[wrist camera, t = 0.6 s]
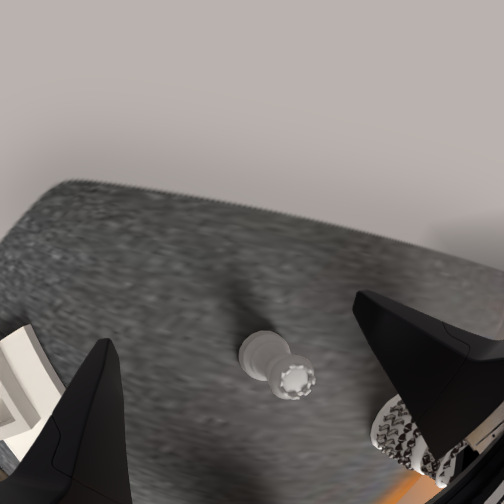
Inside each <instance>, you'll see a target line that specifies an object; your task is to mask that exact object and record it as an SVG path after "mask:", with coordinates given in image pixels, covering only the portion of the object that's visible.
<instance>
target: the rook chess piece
mask: <svg viewBox="0 0 504 504" xmlns="http://www.w3.org/2000/svg"><path fill="white" fill-rule="evenodd" d="M239 362H240V365H241V367H242V369H243V370H244V371H245V372H246V373H247V374H248V375H250V376H251V377H252V378H255V379H257V380H261V381H267V382H268V383H269V385H270V388H271V391H272V392H273V393H274V394H275V395H276V396H277V397H280V398H283V399H292V400H294V399H299V396H301V395H303V394H304V395H305V396H306V395H307V394H308V393H309V392H311V390H310V389H309V387H310V385H311V384H315V379H316V377H314V370H313V366H312V364H311V363H310V361H309V360H308V359H307V358H305V357H303V356H300V355H293V354H291V353H290V350H289V346H288V344H287V343H286V341H285V340H284V339H283V338H282V337H280V336H279V335H278V334H276V333H274V332H272V331H259V332H256V333H253V334H251V335H250V336H249V337H248V338H247V339H245V340H244V342H243V344H242V346H241V347H240V349H239Z"/></svg>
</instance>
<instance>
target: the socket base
mask: <svg viewBox="0 0 504 504" xmlns="http://www.w3.org/2000/svg"><path fill="white" fill-rule="evenodd" d="M65 390H66V389H65V387H64V385H63V384H62V382H61V381H60V379H59V377H58V376H57V374H56V372H55V370H54V369H53V367H52V365H51V363H50V362H49V360H48V358H47V356H46V354H45V352H44V351H43V349H42V347H41V345H40V343H39V341H38V339H37V337H36V335H35V333H34V330H33V328H32V326H31V324H29V325H26V326H23V327H21V328H20V329H18V330H16V331H15V332H13V333H12V334H10V335H8V336H7V337H5V338H4V339H2V340H1V341H0V440H4V441H5V443H6V444H7V445H8V447H9V448H10V449H11V451H12V452H13V453H14V455H15V456H16V457H17V458H18V460H19V461H20V462H21V460H22V459H23V457H24V456H25V454H26V453H27V452H28V450H29V449H30V447H31V446H32V444H33V443H34V441H35V440H36V438H37V437H38V435H39V434H40V432H41V430H42V429H43V427H44V425H45V424H46V422H47V420H48V418H49V417H50V415H52V412H53V410H54V408H55V406H56V405H57V403H58V401H59V400H60V398H61V396H62V395H63V393H64V392H65Z"/></svg>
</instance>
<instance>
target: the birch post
mask: <svg viewBox="0 0 504 504" xmlns="http://www.w3.org/2000/svg"><path fill="white" fill-rule="evenodd" d="M8 477H9V476H8V475H7V474H6V473H5V472H4V471H2V470H1V469H0V481H2V480H4V479H6V478H8Z"/></svg>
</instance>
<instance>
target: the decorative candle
mask: <svg viewBox="0 0 504 504" xmlns="http://www.w3.org/2000/svg"><path fill="white" fill-rule="evenodd" d="M370 437H371V442H372V444H373V445H374V446H375V447H376V448H378V449H382V450H381V452H382V453H384V452H385V453H386V454H389V458H392V457H393V459H394V460H395V459H396V460H398V463H399V464H402V465H405V466H406V468H407V469H410V470H416V471H417V472H419V473H421V474H422V475H428V476H429V477H430V478H432V479H434V480H435V484H436V485H437V486H438V487H439V488H444V487H446V486H447V485H449V484H450V483H451V482H452V481H453V480H454V479H453V475H454V469H455V462H456V454H457V453H459V452H460V451H461V450H462V449H463V448H464V447H465V446H466V445H467V444H468V443H467V442H466V440H465V439H464V440H463V441H461V442H460V443H459V444H458V445H457V446H455V447H454V448H453V449H452V450H450V451H449V452H448V453H446V454H445V455H444V456H442V457H441V458H440V459H438V460H437V461H435V459H434V458H433V456H432V454H431V452H430V450H429V448H428V446H427V445H426V443H425V441H424V439H423V437H422V435H421V433H420V432H419V430H418V428H417V426H416V424H415V422H414V420H413V419H412V417H411V415H410V413H409V412H408V410H407V408H406V406H405V404H404V403H403V401H402V399H401V397H400V396H399V394H397V395H396V396H394V397H393V398H392V399H390V400H389V401H388V402H387V403H386V404H385V405H384V406H383V408H382V409H381V410H380V411H379V413H378V415H377V416H376V418H375V420H374V422H373V424H372V429H371V433H370ZM501 504H504V501H503V502H502V503H501Z"/></svg>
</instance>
